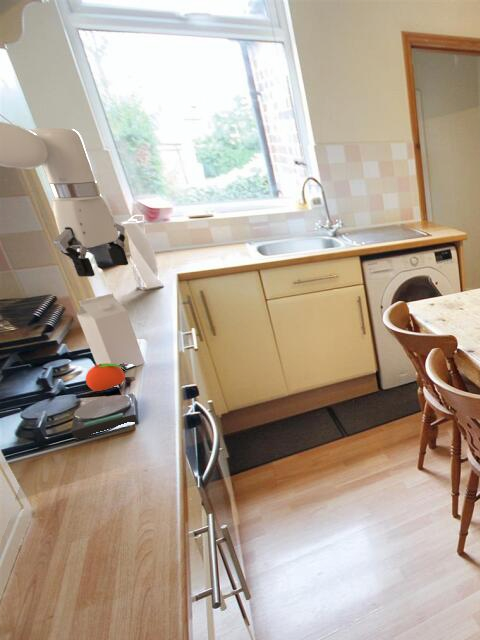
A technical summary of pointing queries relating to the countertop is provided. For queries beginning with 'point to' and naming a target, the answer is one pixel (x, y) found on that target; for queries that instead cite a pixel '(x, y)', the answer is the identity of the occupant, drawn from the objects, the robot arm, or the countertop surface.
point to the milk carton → (109, 331)
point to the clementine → (104, 376)
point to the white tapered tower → (142, 255)
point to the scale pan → (103, 407)
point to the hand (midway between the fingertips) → (104, 270)
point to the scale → (106, 421)
